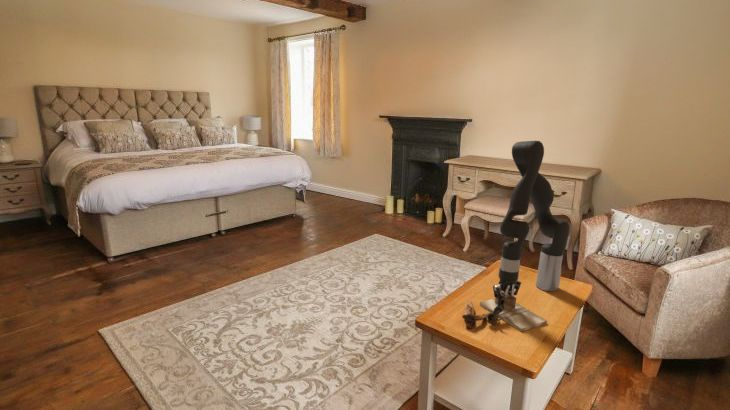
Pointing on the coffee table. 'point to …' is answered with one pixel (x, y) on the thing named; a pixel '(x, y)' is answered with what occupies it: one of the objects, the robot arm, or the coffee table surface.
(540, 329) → the coffee table surface
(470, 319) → the lashed bone hook
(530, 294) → the coffee table surface
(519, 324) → the birch board
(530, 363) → the coffee table surface
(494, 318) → the eagle figurine
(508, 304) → the block
